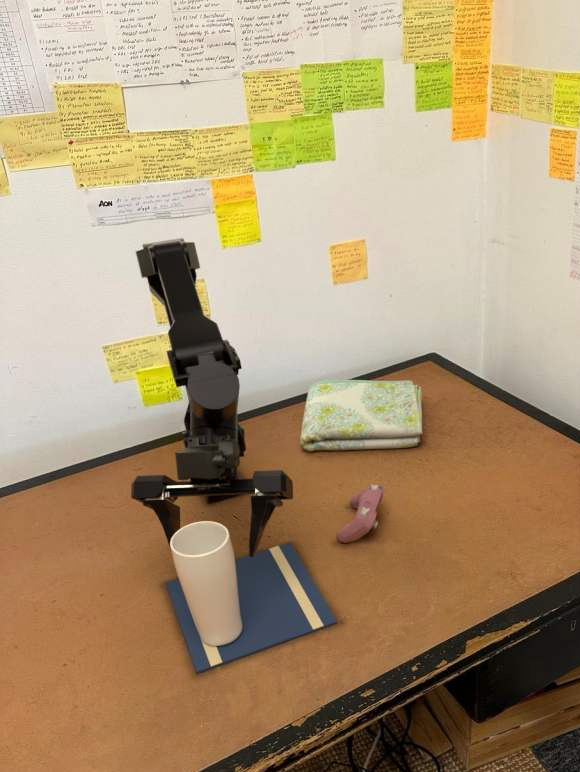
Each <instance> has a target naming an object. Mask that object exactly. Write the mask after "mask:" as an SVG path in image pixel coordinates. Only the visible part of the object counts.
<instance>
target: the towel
mask: <svg viewBox="0 0 580 772" xmlns="http://www.w3.org/2000/svg"><path fill="white" fill-rule="evenodd" d="M422 397H423V387H422V386H419V385H418V384H414V382H413V380H409V379H408V380H407V379H405V380H368V379H324V380H318V381H316V382H314V383H311V384H310V385H309V388H308V390H307V396H306V400H305V406H304V411H303V417H302V423H301V430H300V438H299V445H300V447H301V448H303V450H306V451H308V452H315V451H352V450H353V451H356V450H357V451H359V450H361V451H362V450H365V451H366V450H386V449H387V450H388V449H389V450H390V449H406V448H414V447H418V444H420V443H421V436H423V409H422V408H423V407H422V399H423V398H422Z"/></svg>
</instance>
